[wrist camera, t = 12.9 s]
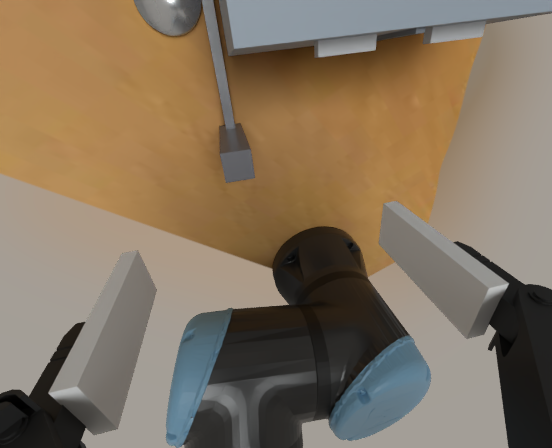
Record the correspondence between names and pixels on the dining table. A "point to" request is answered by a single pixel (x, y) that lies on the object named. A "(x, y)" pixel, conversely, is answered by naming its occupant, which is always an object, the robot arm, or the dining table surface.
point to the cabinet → (360, 22)
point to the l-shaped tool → (227, 111)
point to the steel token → (170, 15)
